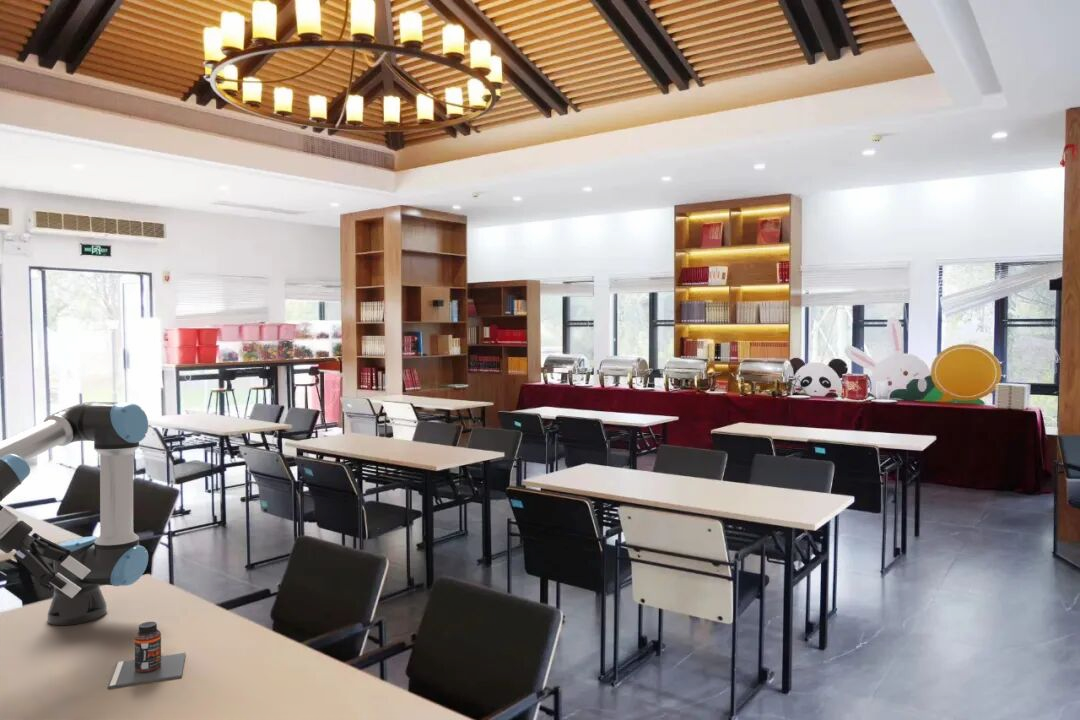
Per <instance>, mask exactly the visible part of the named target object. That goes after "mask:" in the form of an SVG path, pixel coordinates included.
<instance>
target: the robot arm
mask: <svg viewBox="0 0 1080 720" xmlns="http://www.w3.org/2000/svg"><path fill="white" fill-rule="evenodd" d="M148 431H149V419H148V417H147V413H146V411H144V409H142V407H141V406H139V405H138V404H136V403H131V402H125V401H102V402H100V401H98V402H97V401H89V402H82V403H78V404H76V405H73V406H69V407H66V408H64V409H62V410H60V411H57V412H56V413H53V414H50V415H48V416H47V417H45V419H44V420H43V422H41V423H39V424H37V425H34V426H32V427H30V428H28V429H26V430H23V431H22V432H19V433H16V434H15V435H12V436H10V437H8V438H6V439H3V440H1V441H0V503H1V502H2V501H3V499H5V498H6V497H7V496H9V494H11V493H12V492H13V491H14V490H15V489H16V488H17V487H18V486H21V485H22V483H23V482H24V480H25V479H26V478H28V476H29V475H30V474H31V468H30V465H29V464H28V462H27V461H28V460H30V459H32V458H34V457H36V456H38V455H40V454H42V453H44V452H47V451H49V450H51V449H53V448H55V447H56V446H58V447H59V446H60V447H65V446H67V445H70V444H71V443H74V442H83V441H84V442H85V441H86V442H88V441H89V442H93V445H94V446H93V450H95V452H97V453H98V454H99V455H100V456H99V457H100V458H99V463H100V464H99V468H100V469H99V474H100V475H99V482H100V483H99V491H100V492H99V493H100V495H99V496H100V497H99V502H100V503H99V506H100V507H99V511H100V513H99V515H100V516H99V520H100V521H99V522H100V523H99V525H100V526H99V528H100V530H99V536H82V537H78V538H74V539H70V540H66V541H63V542H60V543H58V544H57V543H55V542H52V540H49V539H46V538H45V537H43V536H41V535H40V534H38V533H36V532H34V533H33V534H32V535H29V534H31V532H33V529H34V528H33V527H32V526H30V525H29V524H28V523H26V522H25V521H24V520H18V519H19V517H18V516H17V515H15V514H14V513H13V512H12V511H10V510H8V509H7V508H5V507H4V506H2V505H1V504H0V550H1V551H2V552H3V553H4V554H10V553H11V552H12V551H14V550H15V551H16V552H15V553H14V554H13V558H15V559H16V560H17V561H18V562H20V563H21V564H22V565H23V566H24V567H25V568H26V569H27V570H28V571H29V572H30V573H31V574H32V575H33V576H34V577H35V578H36V579H37V580H38V581H39V582H40V583H41V584H42V585H44V586H46V585H47V584H48V583H49V584H50V585H52V586H53V596H52V600H51V602H50V605H49V609H48V611H47V622H48V623H49V624H51V625H54V626H72V625H78V624H79V625H80V624H83V623H87V622H91V621H93V620H97V619H100V618H101V617H103V616H104V615H105V614H106V613H107V601H106V599H105V597H104V595H103V593H102V590H101V587H100V585H101V586H102V585H105V586H106V585H107V586H113V587H121V586H122V587H123V586H125V587H127V586H130V585H133V584H134V583H136V582H137V581H139V579H140V578H141V577H142V576H143V574H144V573H145V571H146V569H147V566H148V562H149V553H148V549H146V548H145V546H142V545H140V537H139V535H138V534H136V533H135V532H134V453H135V452H136V451H137V450H138V448H140V442H141V441H143V440H145V438H146V437H147V436H146V434H148ZM46 558H47V559H48V560H49V559H50V560H52V566H51V565H50V564H49V563H48V561H47V560H46Z"/></svg>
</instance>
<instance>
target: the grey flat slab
mask: <svg viewBox="0 0 1080 720" xmlns="http://www.w3.org/2000/svg"><path fill="white" fill-rule="evenodd" d="M185 658H186V652H181V653H173V654H168V655H161V666H160V667H159V668H158V669H156V670H154V671H151V672H146V673H141V672H137V671H136V670H135V659H133V660H127V661H124V660H121V661H118V662H117V661H116V663H115V666H114V669H113V672H112V674H111V675H110V679H109V681H108V685H107V689H108V690H109V689H115V688H122V687H127V686H128V687H129V686H135V685H140V684H149V683H155V682H161V681H169V680H174V679H175V680H176V679H180V678H182V676H183V671H184V667H185Z"/></svg>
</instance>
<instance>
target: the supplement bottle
mask: <svg viewBox="0 0 1080 720" xmlns="http://www.w3.org/2000/svg"><path fill="white" fill-rule="evenodd" d="M157 628H158V626H157V622H156V621H145V622H142V623H140V624H139V625H138V632H137V633H136V634H135V636H134V660H135V670H136V671H137V672H141V673H146V672H151V671H154V670H156V669H158V668H159V667H160V666H161V656H162V634H161V633H162V632H161V631H160V630H159V629H157Z"/></svg>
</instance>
